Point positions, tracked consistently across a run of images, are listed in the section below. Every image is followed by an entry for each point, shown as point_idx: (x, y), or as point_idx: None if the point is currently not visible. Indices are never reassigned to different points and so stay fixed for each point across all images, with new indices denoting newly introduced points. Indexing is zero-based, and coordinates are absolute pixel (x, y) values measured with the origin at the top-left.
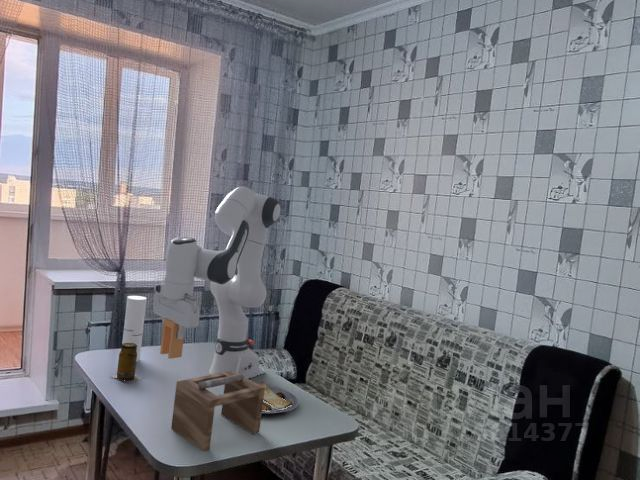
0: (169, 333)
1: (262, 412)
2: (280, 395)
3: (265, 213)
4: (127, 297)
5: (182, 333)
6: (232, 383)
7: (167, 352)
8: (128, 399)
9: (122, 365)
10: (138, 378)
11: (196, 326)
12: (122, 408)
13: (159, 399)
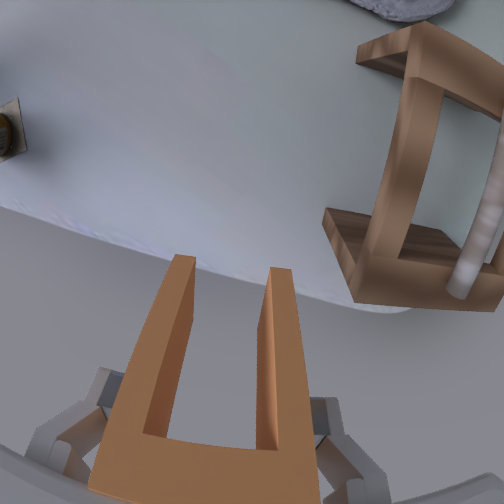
0: (166, 396)
1: (436, 4)
2: None
3: None
4: None
5: (338, 439)
6: (474, 107)
7: (192, 297)
8: (108, 200)
9: None
10: (14, 110)
11: (494, 485)
12: (150, 241)
13: (147, 130)
